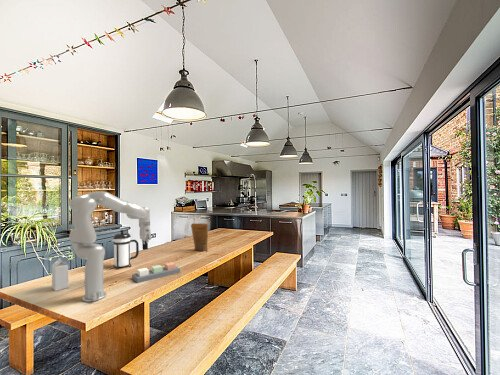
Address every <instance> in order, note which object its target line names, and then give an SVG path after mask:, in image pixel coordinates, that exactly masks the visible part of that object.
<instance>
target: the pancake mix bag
mask: <svg viewBox="0 0 500 375" xmlns="http://www.w3.org/2000/svg"><path fill="white" fill-rule="evenodd" d="M190 227H191V234H192V240H193V245H194V251H195V250H196V252H203V251H206V252H208V251H209V250H208V239H209V237H208V235H209V232H208V230H209V224H208V223H193V222H192V223H191V224H190Z"/></svg>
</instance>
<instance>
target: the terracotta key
mask: <svg viewBox="0 0 500 375" xmlns="http://www.w3.org/2000/svg"><path fill="white" fill-rule="evenodd" d="M163 265H164V266H163V267H164V268H165V269H166V270H171V269H175V266H176V263H174V262H173V261H171V262H166V263H164V264H163Z"/></svg>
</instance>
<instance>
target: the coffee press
mask: <svg viewBox="0 0 500 375" xmlns="http://www.w3.org/2000/svg"><path fill="white" fill-rule="evenodd" d="M131 237H132V236H131V234H130V233H129V232H124V230H123V229H122V230H120V231H119V232H118V233H115V234H114V236H112V239H111V242H113V267H115V269H116V270H119V269H120V267H126V266H127V267H129V268H131V267H132V264H131V260H134V259H136V258H138V256H139V254H140V253H139V252H140V249H139V242H138V240H136V239H131ZM131 243H135V251H136V252H135V255H134V256H131Z"/></svg>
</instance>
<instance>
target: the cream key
mask: <svg viewBox="0 0 500 375" xmlns="http://www.w3.org/2000/svg"><path fill="white" fill-rule="evenodd" d="M149 270H150V269H148V268H147V267H142V268H138V269H136V273H137V275H138V276H139V277H141V276H146V275H149Z"/></svg>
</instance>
